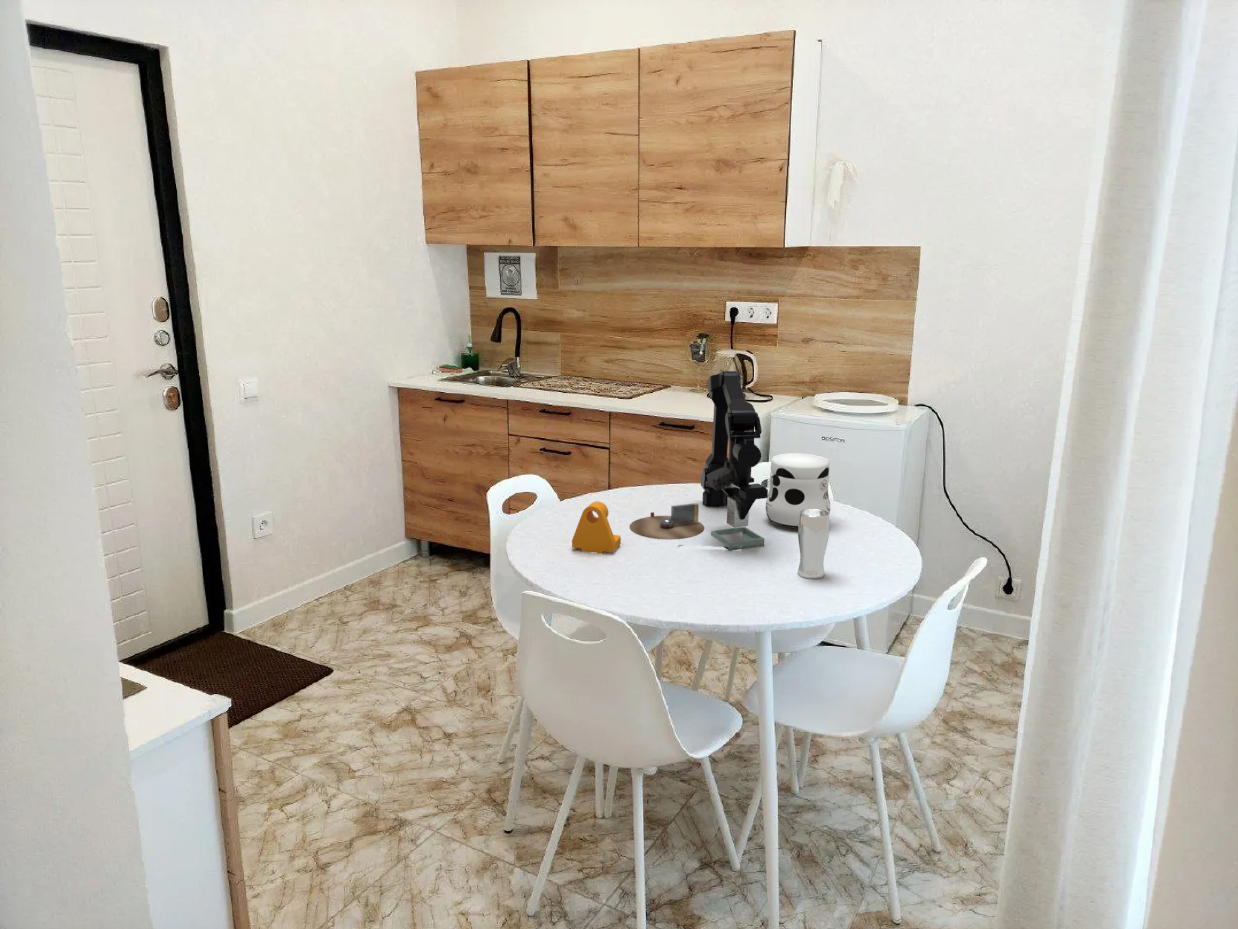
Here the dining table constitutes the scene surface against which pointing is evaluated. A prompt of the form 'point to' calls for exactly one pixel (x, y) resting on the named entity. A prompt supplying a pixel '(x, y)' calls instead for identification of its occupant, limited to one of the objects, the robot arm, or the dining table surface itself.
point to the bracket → (595, 531)
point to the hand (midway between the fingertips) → (738, 517)
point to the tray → (748, 538)
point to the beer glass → (812, 542)
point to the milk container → (797, 487)
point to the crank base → (664, 528)
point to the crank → (681, 515)
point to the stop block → (735, 513)
